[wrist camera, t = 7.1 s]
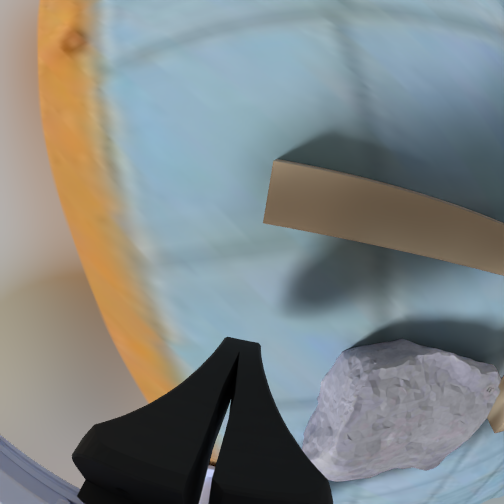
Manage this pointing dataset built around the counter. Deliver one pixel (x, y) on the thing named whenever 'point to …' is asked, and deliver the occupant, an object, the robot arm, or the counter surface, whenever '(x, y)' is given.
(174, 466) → the robot arm
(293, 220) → the fence
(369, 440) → the stone block
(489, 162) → the counter surface
